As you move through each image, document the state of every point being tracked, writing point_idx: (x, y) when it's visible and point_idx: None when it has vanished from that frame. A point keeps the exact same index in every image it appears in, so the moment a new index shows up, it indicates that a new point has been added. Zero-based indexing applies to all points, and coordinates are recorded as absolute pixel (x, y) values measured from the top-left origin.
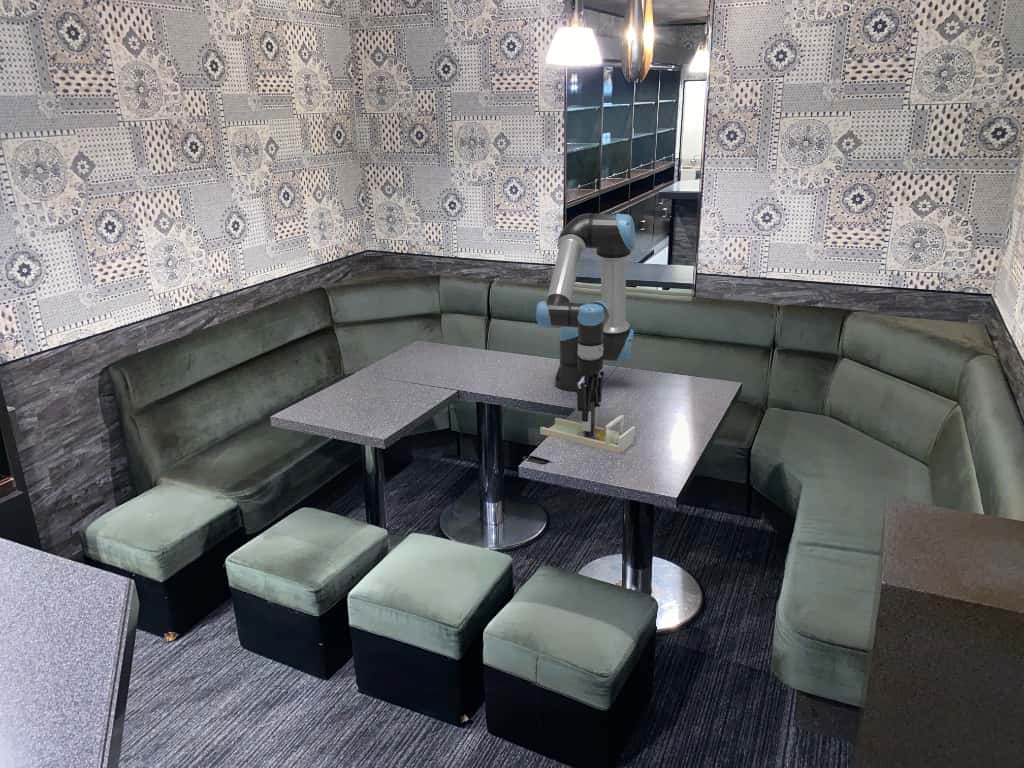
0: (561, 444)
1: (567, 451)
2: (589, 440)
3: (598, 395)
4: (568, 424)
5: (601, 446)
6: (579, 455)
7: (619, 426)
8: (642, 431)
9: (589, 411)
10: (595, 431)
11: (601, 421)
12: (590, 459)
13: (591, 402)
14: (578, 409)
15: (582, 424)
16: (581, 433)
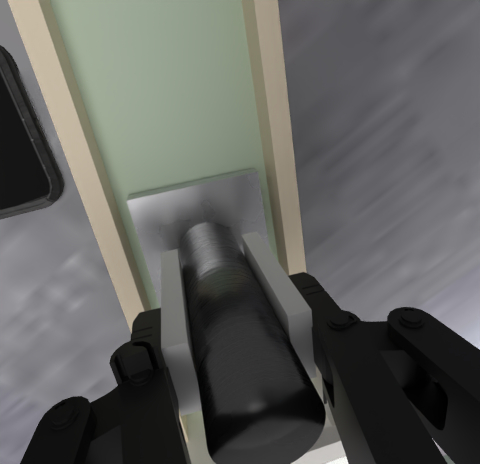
0: (56, 148)
1: (18, 239)
2: (128, 324)
3: (440, 433)
4: (251, 32)
5: None
6: (40, 310)
7: (316, 384)
8: (431, 307)
9: (193, 404)
10: (266, 243)
11: (451, 105)
12: (54, 366)
13: (258, 460)
14: (40, 438)
15: (163, 275)
16: (189, 209)
